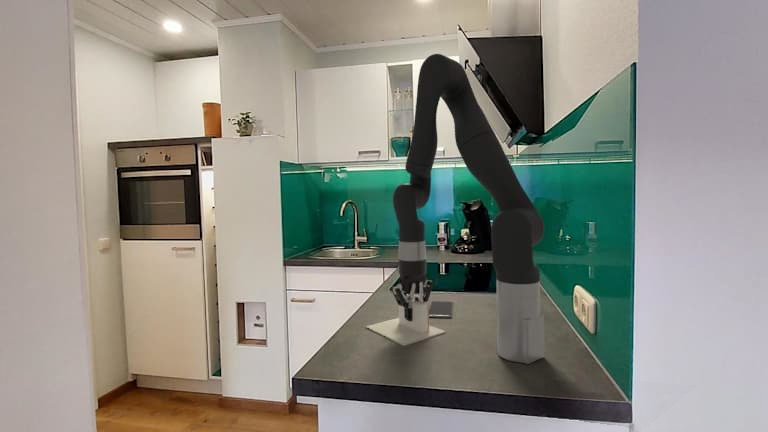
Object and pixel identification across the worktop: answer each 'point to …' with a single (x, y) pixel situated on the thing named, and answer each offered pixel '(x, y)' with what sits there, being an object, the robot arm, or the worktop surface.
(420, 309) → the block
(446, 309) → the smartphone
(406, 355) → the worktop surface
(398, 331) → the mat
